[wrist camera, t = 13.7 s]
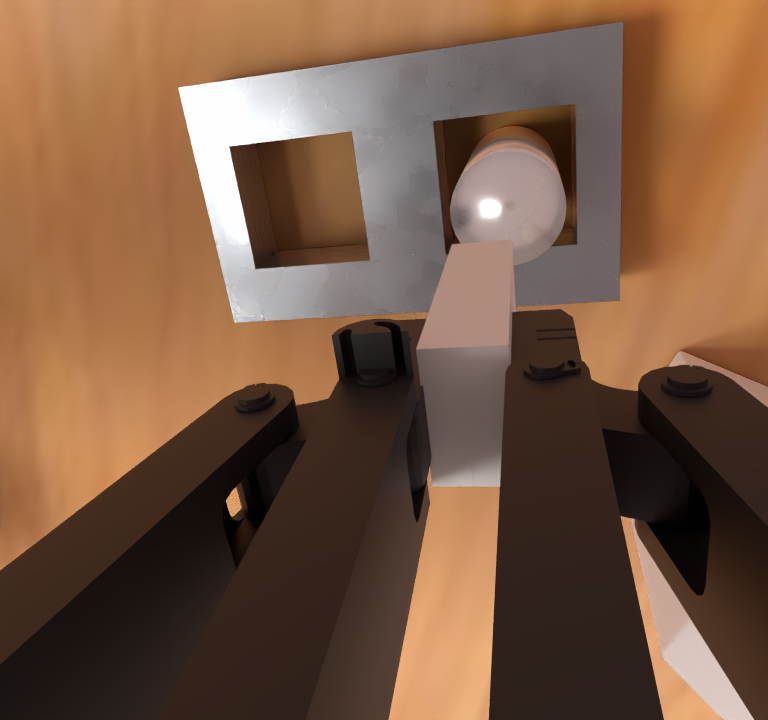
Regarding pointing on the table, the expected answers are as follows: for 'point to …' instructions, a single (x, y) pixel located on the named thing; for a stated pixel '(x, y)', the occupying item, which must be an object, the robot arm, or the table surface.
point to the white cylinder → (510, 194)
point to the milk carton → (671, 619)
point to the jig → (409, 171)
